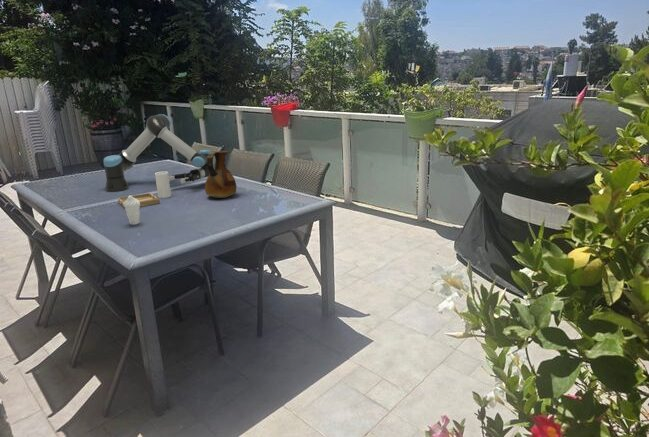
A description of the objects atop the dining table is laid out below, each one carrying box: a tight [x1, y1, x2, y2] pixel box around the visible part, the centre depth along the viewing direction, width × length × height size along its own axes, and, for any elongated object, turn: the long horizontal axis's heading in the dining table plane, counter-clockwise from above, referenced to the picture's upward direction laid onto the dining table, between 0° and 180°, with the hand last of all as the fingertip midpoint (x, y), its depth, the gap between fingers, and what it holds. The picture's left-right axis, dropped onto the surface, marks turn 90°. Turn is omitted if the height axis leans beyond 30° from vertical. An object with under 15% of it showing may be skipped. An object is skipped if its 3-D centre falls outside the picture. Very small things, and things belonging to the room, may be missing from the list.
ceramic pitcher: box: [204, 150, 237, 199], centre depth 292 cm, size 20×20×30 cm
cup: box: [154, 171, 172, 199], centre depth 298 cm, size 8×8×16 cm
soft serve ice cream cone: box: [123, 194, 141, 226], centre depth 244 cm, size 8×8×16 cm
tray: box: [117, 192, 161, 209], centre depth 286 cm, size 20×20×3 cm
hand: (173, 180), depth 305 cm, fingers open, 13 cm apart
